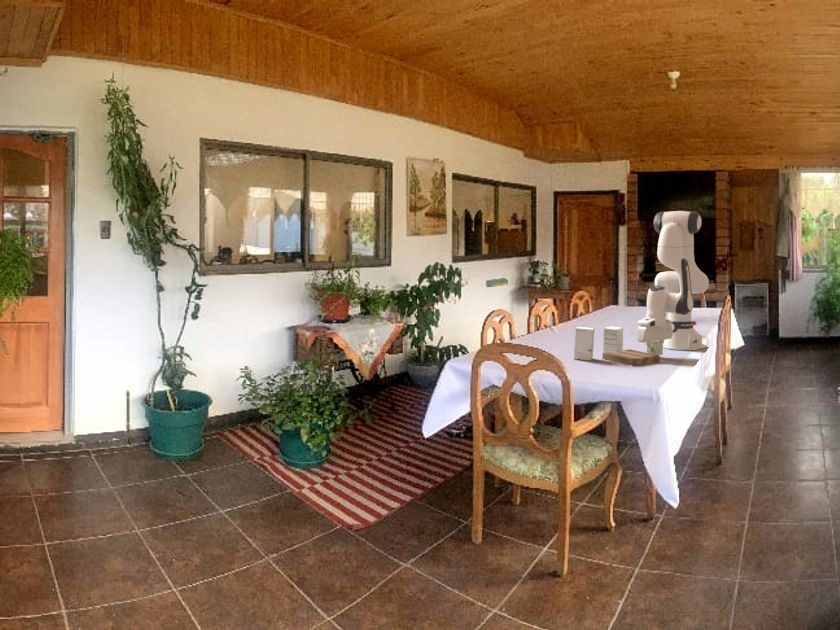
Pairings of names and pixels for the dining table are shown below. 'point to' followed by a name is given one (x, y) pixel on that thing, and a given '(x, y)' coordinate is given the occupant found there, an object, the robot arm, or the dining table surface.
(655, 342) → the sage block
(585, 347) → the skincare box
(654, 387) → the dining table surface
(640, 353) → the walnut stand
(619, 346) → the supplement box
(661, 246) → the robot arm
